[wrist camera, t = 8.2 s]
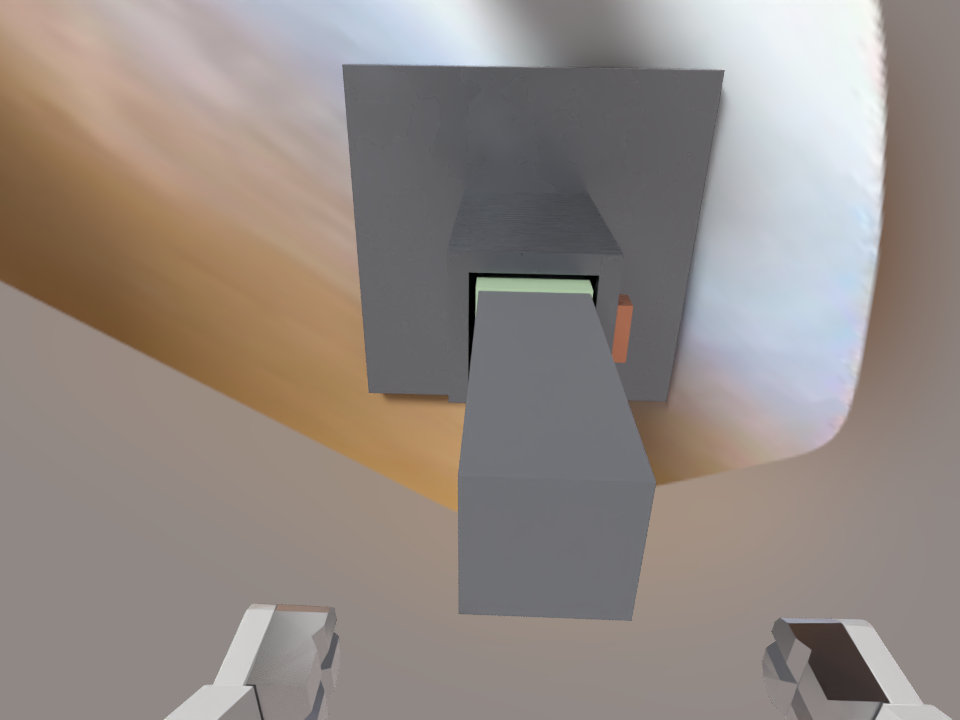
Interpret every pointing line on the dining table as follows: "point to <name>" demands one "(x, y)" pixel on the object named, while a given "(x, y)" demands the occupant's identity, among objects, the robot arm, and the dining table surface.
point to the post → (548, 459)
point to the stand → (523, 205)
